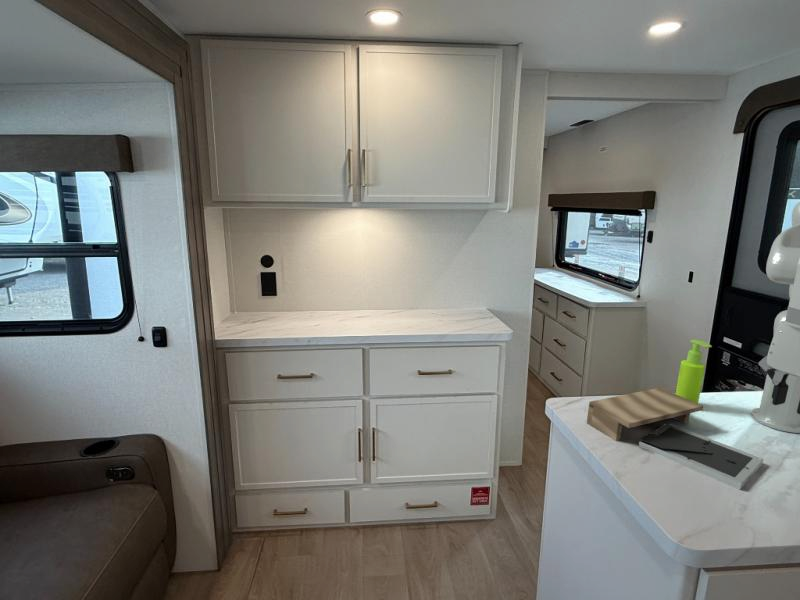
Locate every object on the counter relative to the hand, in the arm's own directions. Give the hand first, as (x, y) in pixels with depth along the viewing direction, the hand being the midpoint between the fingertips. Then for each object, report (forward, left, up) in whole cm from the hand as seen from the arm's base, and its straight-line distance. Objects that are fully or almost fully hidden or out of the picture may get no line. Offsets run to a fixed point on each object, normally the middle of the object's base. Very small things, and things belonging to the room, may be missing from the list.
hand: (790, 407), depth 90 cm
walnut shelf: (0, -30, -19) cm, 36 cm away
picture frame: (0, -15, -20) cm, 25 cm away
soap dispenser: (-23, -34, -19) cm, 45 cm away
